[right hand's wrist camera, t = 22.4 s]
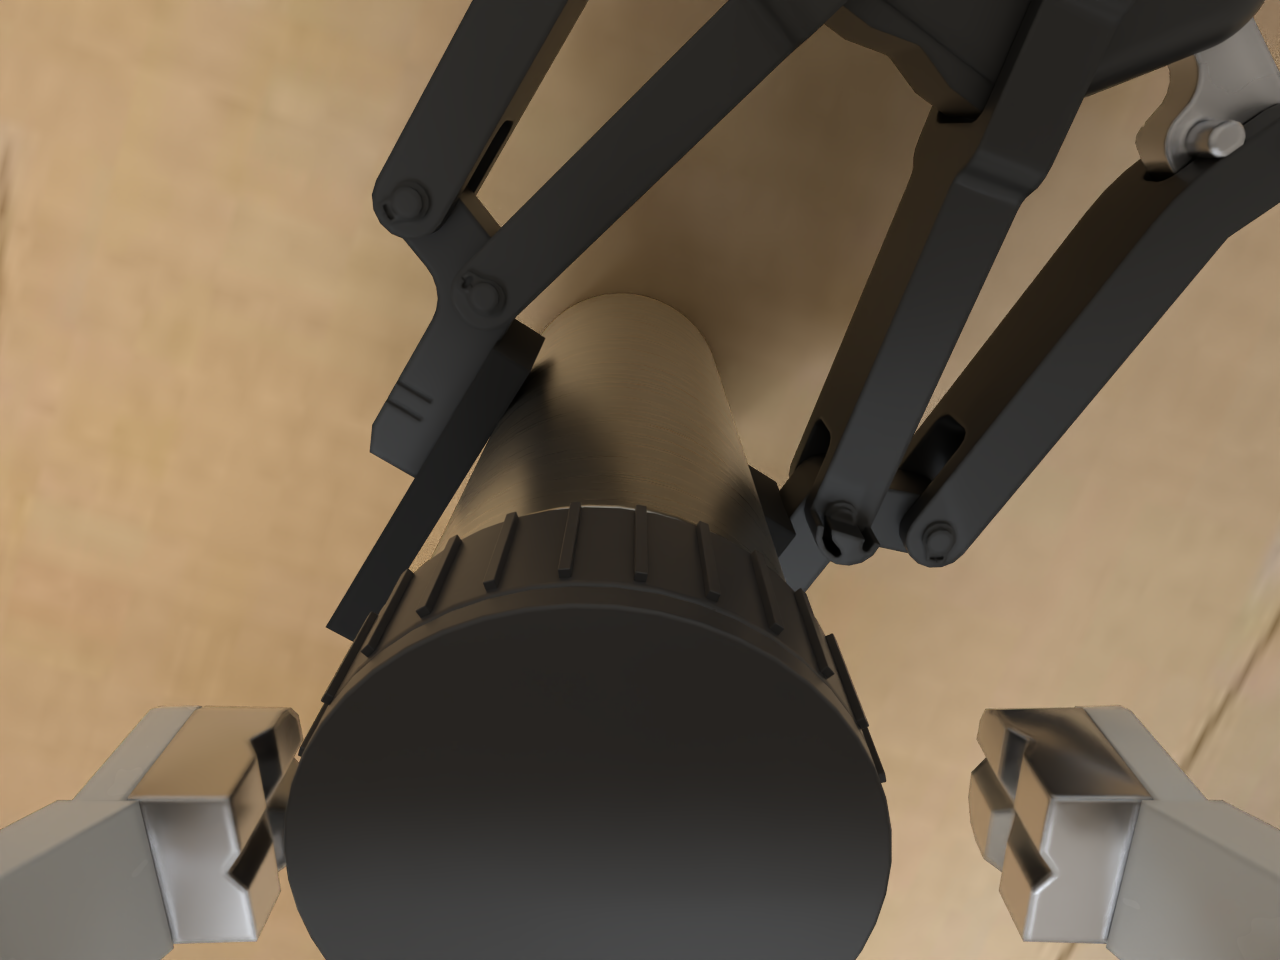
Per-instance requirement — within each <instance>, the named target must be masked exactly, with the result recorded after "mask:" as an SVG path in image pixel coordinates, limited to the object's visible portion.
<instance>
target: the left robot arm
mask: <svg viewBox="0 0 1280 960" xmlns="http://www.w3.org/2000/svg"><path fill="white" fill-rule="evenodd" d="M1264 1H1265V0H729V1H728V2H727V3H726V4H725V5H724V6H723V7H722V8H721V9H720V10H719V11H718V12H717V13H716V14H715V15H714V16H713V17H712V18H711V19H710V20H709V21H708V22H707V23H706V24H705V25H704V26H703V27H702V28H701V29H700V30H699V31H698V32H697V33H696V34H695V35H694V36H693V37H692V38H691V39H690V40H689V41H688V42H687V43H686V44H685V45H684V46H683V47H682V48H681V49H680V50H679V51H678V52H677V53H676V54H675V55H674V56H673V57H672V58H671V59H670V60H669V61H668V62H667V63H666V64H665V65H664V66H663V67H662V68H661V69H660V70H659V71H658V72H657V73H656V74H655V75H654V76H653V77H652V78H651V79H650V80H649V81H648V82H647V83H646V84H645V85H644V86H643V87H642V88H641V89H640V90H639V91H638V92H637V93H636V94H635V95H634V96H633V97H632V98H631V99H630V100H629V101H628V102H627V103H626V104H625V105H624V106H623V107H622V108H621V109H620V110H619V111H618V112H617V113H616V114H615V115H614V116H613V117H612V118H611V119H610V120H609V121H608V122H607V123H606V124H605V125H604V126H603V127H602V128H601V129H600V130H599V131H598V132H597V133H596V134H595V135H594V136H593V137H592V138H591V139H590V140H589V141H588V142H587V143H586V144H585V145H584V146H583V147H582V148H581V149H579V150H578V151H577V152H576V153H575V154H574V155H573V156H572V157H571V158H570V159H569V160H568V161H567V162H566V163H565V164H564V165H563V166H562V167H561V168H560V169H559V170H558V171H557V172H556V173H555V174H554V175H553V176H552V177H551V178H550V179H549V180H548V181H547V182H546V183H545V184H544V185H543V186H542V187H541V188H540V189H539V190H538V191H537V192H536V193H535V194H534V195H533V196H532V197H531V198H530V199H529V200H528V201H527V202H526V203H525V204H524V205H523V206H522V207H521V208H520V209H519V210H518V211H517V212H516V213H515V214H514V215H513V216H512V217H511V218H510V219H509V220H508V221H507V222H506V223H505V224H504V225H503V226H502V227H500V226H499V225H498V223H497V222H496V221H495V220H494V218H493V217H492V216H491V214H490V213H489V212H488V211H487V209H486V208H485V207H484V206H483V204H482V203H481V202H480V200H479V199H478V198H477V197H476V195H477V193H478V191H479V189H480V188H481V186H482V184H483V182H484V181H485V179H486V177H487V175H488V174H489V172H490V170H491V168H492V167H493V165H494V163H495V162H496V160H497V158H498V156H499V155H500V153H501V151H502V149H503V148H504V146H505V144H506V142H507V141H508V139H509V137H510V136H511V134H512V132H513V130H514V129H515V127H516V125H517V123H518V122H519V120H520V118H521V116H522V115H523V113H524V111H525V109H526V108H527V106H528V104H529V103H530V101H531V99H532V97H533V96H534V94H535V92H536V90H537V89H538V87H539V85H540V83H541V82H542V80H543V78H544V76H545V75H546V73H547V71H548V70H549V68H550V66H551V64H552V63H553V61H554V59H555V57H556V56H557V54H558V52H559V50H560V49H561V47H562V45H563V44H564V42H565V40H566V38H567V37H568V35H569V33H570V31H571V30H572V28H573V26H574V24H575V23H576V21H577V19H578V17H579V16H580V14H581V12H582V11H583V9H584V7H585V5H586V4H587V2H588V0H473V1H472V2H471V4H470V6H469V8H468V10H467V12H466V14H465V15H464V17H463V19H462V21H461V23H460V25H459V27H458V29H457V30H456V32H455V34H454V36H453V38H452V40H451V42H450V43H449V45H448V47H447V49H446V51H445V53H444V55H443V57H442V58H441V60H440V62H439V64H438V66H437V68H436V70H435V72H434V73H433V75H432V77H431V79H430V81H429V83H428V85H427V86H426V88H425V90H424V92H423V94H422V96H421V98H420V100H419V101H418V103H417V105H416V107H415V109H414V111H413V113H412V114H411V116H410V118H409V120H408V122H407V124H406V126H405V128H404V129H403V131H402V133H401V135H400V137H399V139H398V141H397V142H396V144H395V146H394V148H393V150H392V152H391V154H390V156H389V157H388V159H387V161H386V163H385V165H384V167H383V169H382V170H381V172H380V174H379V176H378V178H377V180H376V183H375V186H374V189H373V193H372V200H373V210H374V212H375V214H376V216H377V218H378V220H379V222H380V223H381V224H382V225H383V226H384V227H385V228H386V229H387V230H388V231H389V232H390V233H391V234H394V235H396V236H398V237H401V238H403V239H404V240H405V241H406V243H407V244H408V245H409V246H410V248H411V249H412V250H413V251H414V252H415V254H416V255H417V256H418V257H419V258H420V260H421V261H422V262H423V263H424V265H425V266H426V267H427V269H428V270H429V272H430V273H431V275H432V276H433V279H434V282H435V284H436V287H437V296H438V301H437V308H436V312H435V314H434V316H433V319H432V321H431V323H430V324H429V326H428V328H427V330H426V331H425V333H424V335H423V337H422V338H421V340H420V342H419V344H418V345H417V347H416V349H415V351H414V352H413V354H412V356H411V358H410V360H409V361H408V363H407V365H406V367H405V368H404V370H403V372H402V374H401V375H400V377H399V379H398V381H397V383H396V384H395V386H394V388H393V389H392V391H391V393H390V395H389V397H388V399H387V400H386V402H385V404H384V405H383V407H382V409H381V411H380V412H379V414H378V416H377V418H376V419H375V421H374V423H373V425H372V434H371V444H370V453H372V454H374V455H376V456H377V457H379V458H381V459H383V460H384V461H386V462H388V463H390V464H391V465H393V466H395V467H397V468H398V469H400V470H402V471H404V472H405V473H407V474H409V475H411V476H412V477H414V478H415V479H414V480H413V482H412V484H411V485H410V487H409V489H408V491H407V492H406V494H405V496H404V497H403V499H402V501H401V502H400V504H399V506H398V507H397V509H396V511H395V512H394V514H393V516H392V517H391V519H390V521H389V522H388V524H387V526H386V527H385V529H384V531H383V532H382V534H381V536H380V537H379V539H378V541H377V542H376V544H375V546H374V547H373V549H372V551H371V552H370V554H369V556H368V557H367V559H366V561H365V562H364V564H363V566H362V567H361V569H360V571H359V572H358V574H357V576H356V577H355V579H354V581H353V582H352V584H351V586H350V587H349V589H348V591H347V592H346V594H345V596H344V597H343V599H342V601H341V602H340V604H339V606H338V607H337V609H336V611H335V612H334V614H333V616H332V617H331V619H330V621H329V622H328V624H327V626H326V628H328V629H330V630H332V631H334V632H336V633H338V634H340V635H342V636H343V637H345V638H347V639H349V640H351V641H353V642H354V640H355V638H356V636H357V635H358V633H359V631H360V629H361V627H362V626H363V624H364V622H365V620H366V618H367V617H368V615H369V614H370V612H371V611H372V612H374V613H376V614H377V615H378V614H379V613H380V611H381V609H382V608H383V606H384V605H385V604H386V602H387V600H388V599H389V597H390V595H391V593H392V591H393V589H394V587H395V585H396V584H397V582H398V580H399V578H400V576H401V574H402V573H403V572H404V571H406V570H407V569H408V568H409V567H410V565H411V564H412V562H413V560H414V559H415V557H416V555H417V554H418V552H419V551H420V549H421V547H422V546H423V544H424V543H425V541H426V539H427V538H428V536H429V534H430V533H431V531H432V530H433V528H434V526H435V525H436V523H437V522H438V520H439V518H440V517H441V515H442V513H443V512H444V510H445V509H446V507H447V505H448V504H449V502H450V501H451V499H452V497H453V496H454V494H455V493H456V491H457V489H458V488H459V486H460V484H461V483H462V481H463V480H464V478H465V476H466V475H467V473H468V472H469V470H470V468H471V467H472V465H473V463H474V462H475V460H476V459H477V457H478V455H479V454H480V452H481V451H482V449H483V447H484V446H485V444H486V443H487V441H488V439H489V438H490V436H491V434H492V433H493V431H494V429H495V428H496V426H497V424H498V423H499V421H500V420H501V418H502V417H503V415H504V413H505V412H506V410H507V409H508V407H509V405H510V404H511V402H512V401H513V399H514V397H515V396H516V394H517V392H518V391H519V389H520V388H521V386H522V384H523V383H524V381H525V380H526V378H527V376H528V375H529V373H530V372H531V369H532V367H533V365H534V363H535V361H536V358H537V356H538V354H539V352H540V350H541V347H542V345H543V343H544V341H545V339H546V338H545V337H543V336H542V335H540V334H538V333H537V332H535V331H534V330H532V329H530V328H529V327H527V326H526V325H524V324H522V323H521V322H519V321H518V320H516V319H515V318H516V316H517V315H518V314H519V313H521V312H522V311H523V310H524V309H525V308H526V307H527V306H528V305H529V304H530V303H531V302H532V301H533V300H534V299H535V298H536V297H537V296H538V295H539V294H540V293H541V292H542V291H543V290H544V289H546V288H547V287H548V286H549V285H550V284H551V283H552V282H553V281H554V280H555V279H556V278H557V277H558V276H559V275H560V274H561V273H562V272H563V271H564V270H565V269H566V268H567V267H568V266H569V265H571V264H572V263H573V262H574V261H575V260H576V259H577V258H578V257H579V256H580V255H581V254H582V253H583V252H584V251H585V250H586V249H587V248H588V247H589V246H590V245H591V244H592V243H593V242H594V241H596V240H597V239H598V238H599V237H600V236H601V235H602V234H603V233H604V232H605V231H606V230H607V229H608V228H609V227H610V226H611V225H612V224H613V223H614V222H615V221H616V220H617V219H618V218H619V217H621V216H622V215H623V214H624V213H625V212H626V211H627V210H628V209H629V208H630V207H631V206H632V205H633V204H634V203H635V202H636V201H637V200H638V199H639V198H640V197H641V196H642V195H643V194H645V193H646V192H647V191H648V190H649V189H650V188H651V187H652V186H653V185H654V184H655V183H656V182H657V181H658V180H659V179H660V178H661V177H662V176H663V175H664V174H665V173H666V172H667V171H668V170H670V169H671V168H672V167H673V166H674V165H675V164H676V163H677V162H678V161H679V160H680V159H681V158H682V157H683V156H684V155H685V154H686V153H687V152H688V151H689V150H690V149H691V148H692V147H693V146H695V145H696V144H697V143H698V142H699V141H700V140H701V139H702V138H703V137H704V136H705V135H706V134H707V133H708V132H709V131H710V130H711V129H712V128H713V127H714V126H715V125H716V124H717V123H718V122H720V121H721V120H722V119H723V118H724V117H725V116H726V115H727V114H728V113H729V112H730V111H731V110H732V109H733V108H734V107H735V106H736V105H737V104H738V103H739V102H740V101H741V100H742V99H743V98H745V97H746V96H747V95H748V94H749V93H750V92H751V91H752V90H753V89H754V88H755V87H756V86H757V85H758V84H759V83H760V82H761V81H762V80H763V79H764V78H765V77H766V76H767V75H768V74H770V73H771V72H772V71H773V70H774V69H775V68H776V67H777V66H778V65H779V64H780V63H781V62H782V61H783V60H784V59H785V58H786V57H787V56H788V55H790V54H791V53H792V52H793V51H794V50H795V49H796V48H797V47H799V46H800V45H801V44H802V43H803V42H804V41H806V40H807V39H808V38H809V37H810V36H811V35H812V34H813V33H814V32H816V31H817V30H818V29H819V28H820V27H821V26H822V25H823V24H825V25H827V26H828V27H829V28H831V29H832V30H833V31H835V32H836V33H837V34H839V35H840V36H841V37H843V38H844V39H845V40H848V41H851V42H854V43H856V44H859V45H862V46H864V47H867V48H870V49H873V50H875V51H878V52H881V53H883V54H886V55H887V56H888V57H889V58H890V59H891V60H892V61H893V63H894V64H895V66H896V67H897V68H898V70H899V71H900V72H901V74H902V75H903V76H904V78H905V79H906V81H907V82H908V83H909V85H910V86H911V87H912V89H913V90H914V91H915V93H917V94H918V95H919V96H921V97H922V98H923V99H925V100H926V101H927V102H929V103H930V104H931V105H933V106H932V108H931V111H930V113H929V115H928V118H927V120H926V123H925V125H924V128H923V130H922V132H921V135H920V137H919V140H918V143H917V145H916V148H915V153H914V161H913V171H912V175H911V177H910V180H909V182H908V185H907V187H906V190H905V192H904V194H903V197H902V199H901V202H900V204H899V206H898V209H897V211H896V214H895V216H894V218H893V221H892V223H891V226H890V228H889V230H888V233H887V235H886V238H885V240H884V242H883V245H882V247H881V250H880V252H879V254H878V257H877V259H876V262H875V264H874V266H873V269H872V271H871V274H870V276H869V278H868V281H867V283H866V285H865V288H864V290H863V293H862V295H861V297H860V300H859V302H858V305H857V307H856V309H855V312H854V314H853V317H852V319H851V321H850V324H849V326H848V329H847V331H846V333H845V336H844V338H843V341H842V343H841V345H840V348H839V350H838V353H837V355H836V357H835V360H834V362H833V365H832V367H831V369H830V372H829V374H828V377H827V379H826V381H825V384H824V386H823V389H822V391H821V393H820V396H819V398H818V401H817V403H816V405H815V408H814V410H813V413H812V415H811V417H810V420H809V422H808V425H807V427H806V429H805V432H804V434H803V436H802V439H801V441H800V444H799V446H798V448H797V451H796V453H795V456H794V458H793V460H792V463H791V466H790V471H789V479H788V480H787V482H786V483H785V484H784V486H783V487H782V488H781V490H780V491H779V488H778V486H777V483H776V482H775V481H774V480H772V479H770V478H769V477H767V476H766V475H764V474H762V473H761V472H759V471H758V470H756V469H754V468H753V467H751V466H750V465H748V466H749V469H750V472H751V476H752V479H753V482H754V485H755V488H756V491H757V494H758V497H759V500H760V503H761V507H762V510H763V513H764V516H765V519H766V522H767V525H768V528H769V531H770V535H771V538H772V541H773V544H774V547H775V550H776V553H777V556H778V559H779V562H780V566H781V569H782V572H783V575H784V578H785V581H786V583H787V584H788V585H789V586H790V587H791V588H792V589H793V590H794V591H797V590H798V589H799V588H801V589H802V590H803V591H804V592H806V590H807V589H808V588H809V587H810V585H811V584H812V583H813V582H814V580H815V579H816V578H817V577H818V575H819V574H820V573H821V572H822V570H823V569H824V568H825V567H826V565H827V564H828V563H829V562H830V561H832V562H834V563H835V564H840V565H853V564H858V563H862V562H863V561H865V560H866V559H868V558H870V557H871V556H873V555H874V553H875V552H876V550H877V549H878V548H879V547H882V548H887V549H891V550H896V551H901V552H906V553H909V555H910V556H911V557H912V558H913V559H914V560H915V561H916V562H917V563H918V564H921V565H924V566H927V567H943V566H946V565H948V564H951V563H953V562H955V561H956V560H957V559H958V558H959V557H961V556H962V555H963V554H964V553H965V551H966V550H967V549H968V548H969V547H970V545H971V544H972V543H973V542H974V541H975V540H976V538H977V537H978V536H979V535H980V534H981V532H982V531H983V530H984V529H985V528H986V526H987V525H988V524H989V523H990V522H991V520H992V519H993V518H994V517H995V516H996V514H997V513H998V512H999V511H1000V510H1001V508H1002V507H1003V506H1004V505H1005V504H1006V502H1007V501H1008V500H1009V499H1010V498H1011V496H1012V495H1013V494H1014V493H1015V492H1016V490H1017V489H1018V488H1019V487H1020V486H1021V484H1022V483H1023V482H1024V481H1025V480H1026V478H1027V477H1028V476H1029V475H1030V474H1031V473H1032V471H1033V470H1034V469H1035V468H1036V467H1037V465H1038V464H1039V463H1040V462H1041V461H1042V459H1043V458H1044V457H1045V456H1046V455H1047V453H1048V452H1049V451H1050V450H1051V449H1052V447H1053V446H1054V445H1055V444H1056V443H1057V441H1058V440H1059V439H1060V438H1061V437H1062V435H1063V434H1064V433H1065V432H1066V431H1067V429H1068V428H1069V427H1070V426H1071V425H1072V423H1073V422H1074V421H1075V420H1076V419H1077V417H1078V416H1079V415H1080V414H1081V413H1082V412H1083V410H1084V409H1085V408H1086V407H1087V406H1088V404H1089V403H1090V402H1091V401H1092V400H1093V398H1094V397H1095V396H1096V395H1097V394H1098V392H1099V391H1100V390H1101V389H1102V388H1103V386H1104V385H1105V384H1106V383H1107V382H1108V380H1109V379H1110V378H1111V377H1112V376H1113V374H1114V373H1115V372H1116V371H1117V370H1118V368H1119V367H1120V366H1121V365H1122V364H1123V362H1124V361H1125V360H1126V359H1127V358H1128V356H1129V355H1130V354H1131V353H1132V352H1133V351H1134V349H1135V348H1136V347H1137V346H1138V345H1139V343H1140V342H1141V341H1142V340H1143V339H1144V337H1145V336H1146V335H1147V334H1148V333H1149V331H1150V330H1151V329H1152V328H1153V327H1154V325H1155V324H1156V323H1157V322H1158V321H1159V319H1160V318H1161V317H1162V316H1163V315H1164V313H1165V312H1166V311H1167V310H1168V309H1169V307H1170V306H1171V305H1172V304H1173V303H1174V301H1175V300H1176V299H1177V298H1178V297H1179V295H1180V294H1181V293H1182V292H1183V291H1184V290H1185V288H1186V287H1187V286H1188V285H1189V284H1190V282H1191V281H1192V280H1193V279H1194V278H1195V276H1196V275H1197V274H1198V273H1199V272H1200V270H1201V269H1202V268H1203V267H1204V266H1205V264H1206V263H1207V262H1208V261H1209V260H1210V258H1211V257H1212V256H1213V255H1214V254H1215V252H1216V251H1217V250H1218V249H1219V248H1220V246H1221V245H1222V244H1223V243H1224V242H1225V240H1226V239H1227V238H1228V237H1230V236H1231V235H1233V234H1234V233H1235V232H1237V231H1238V230H1240V229H1241V228H1243V227H1244V226H1246V225H1247V224H1249V223H1250V222H1252V221H1253V220H1255V219H1256V218H1258V217H1259V216H1261V215H1262V214H1264V213H1265V212H1266V211H1268V210H1269V209H1271V208H1272V207H1274V206H1275V205H1277V204H1278V203H1280V72H1279V70H1278V68H1277V66H1276V64H1275V62H1274V60H1273V58H1272V55H1271V53H1270V51H1269V49H1268V47H1267V45H1266V43H1265V41H1264V39H1263V37H1262V35H1261V33H1260V30H1259V28H1258V26H1257V24H1256V22H1255V20H1254V18H1253V16H1254V15H1255V14H1256V13H1257V11H1258V10H1259V9H1260V7H1261V6H1262V4H1263V3H1264ZM1166 65H1168V68H1169V71H1170V83H1169V87H1168V91H1167V94H1166V96H1165V98H1164V100H1163V102H1162V104H1161V105H1160V106H1159V107H1158V109H1157V110H1156V111H1155V112H1154V113H1153V114H1152V115H1151V117H1150V118H1149V119H1148V120H1147V121H1146V123H1145V125H1144V126H1143V127H1141V129H1140V130H1139V132H1138V134H1137V136H1136V142H1135V143H1136V147H1137V150H1138V151H1139V155H1140V157H1141V159H1140V160H1138V161H1137V162H1136V163H1135V164H1133V165H1132V166H1131V167H1130V168H1128V169H1127V170H1126V171H1125V172H1124V173H1122V174H1121V175H1120V176H1119V177H1118V178H1117V179H1116V180H1115V181H1114V182H1113V183H1112V184H1111V185H1110V186H1109V187H1108V188H1107V189H1106V190H1105V191H1104V192H1103V193H1102V194H1101V196H1100V197H1099V198H1098V199H1097V200H1096V201H1095V203H1094V204H1093V205H1092V206H1091V207H1090V208H1089V210H1088V211H1087V212H1086V213H1085V214H1084V216H1083V217H1082V218H1081V220H1080V221H1079V222H1078V224H1077V225H1076V226H1075V227H1074V229H1073V230H1072V231H1071V233H1070V234H1069V235H1068V236H1067V238H1066V239H1065V240H1064V242H1063V243H1062V244H1061V245H1060V247H1059V248H1058V249H1057V251H1056V252H1055V253H1054V255H1053V256H1052V257H1051V258H1050V260H1049V261H1048V262H1047V264H1046V265H1045V266H1044V267H1043V269H1042V270H1041V271H1040V273H1039V274H1038V275H1037V276H1036V278H1035V279H1034V280H1033V282H1032V283H1031V284H1030V286H1029V287H1028V288H1027V289H1026V291H1025V292H1024V293H1023V295H1022V296H1021V297H1020V298H1019V300H1018V301H1017V302H1016V304H1015V305H1014V306H1013V307H1012V309H1011V310H1010V311H1009V313H1008V314H1007V315H1006V317H1005V318H1004V319H1003V320H1002V322H1001V323H1000V324H999V326H998V327H997V328H996V329H995V331H994V332H993V333H992V335H991V336H990V337H989V338H988V340H987V341H986V342H985V344H984V345H983V346H982V348H981V349H980V350H979V351H978V353H977V354H976V355H975V357H974V358H973V359H972V360H971V362H970V363H969V364H968V366H967V367H966V368H965V369H964V371H963V372H962V373H961V375H960V376H959V377H958V379H957V380H956V381H955V382H954V384H953V385H952V386H951V388H950V389H949V390H948V391H947V393H946V394H945V395H944V397H943V398H942V399H941V400H940V402H939V403H938V404H937V406H936V407H935V408H934V410H933V411H932V412H931V413H930V415H929V416H928V417H927V419H926V420H925V421H924V422H923V424H922V425H921V426H920V428H919V429H918V430H917V431H916V429H917V427H918V424H919V422H920V420H921V418H922V416H923V414H924V412H925V409H926V407H927V405H928V403H929V401H930V399H931V396H932V394H933V392H934V390H935V388H936V386H937V383H938V381H939V379H940V377H941V375H942V373H943V370H944V368H945V366H946V364H947V362H948V360H949V358H950V355H951V353H952V351H953V349H954V347H955V345H956V342H957V340H958V338H959V336H960V334H961V332H962V329H963V327H964V325H965V323H966V321H967V319H968V316H969V314H970V312H971V310H972V308H973V306H974V304H975V301H976V299H977V297H978V295H979V293H980V291H981V288H982V286H983V284H984V282H985V280H986V278H987V275H988V273H989V271H990V269H991V267H992V265H993V262H994V260H995V258H996V256H997V254H998V252H999V250H1000V247H1001V245H1002V243H1003V241H1004V239H1005V237H1006V234H1007V232H1008V230H1009V228H1010V226H1011V224H1012V221H1013V219H1014V217H1015V215H1016V213H1017V211H1018V209H1019V207H1020V205H1021V204H1022V202H1023V201H1024V200H1025V198H1026V197H1027V196H1029V195H1030V194H1031V193H1032V192H1033V191H1034V190H1036V189H1037V188H1038V187H1039V185H1040V184H1041V183H1042V181H1043V180H1044V179H1045V177H1046V176H1047V174H1048V172H1049V170H1050V168H1051V167H1052V165H1053V162H1054V160H1055V158H1056V156H1057V154H1058V152H1059V150H1060V147H1061V145H1062V143H1063V141H1064V139H1065V137H1066V135H1067V132H1068V130H1069V128H1070V126H1071V124H1072V122H1073V120H1074V118H1075V115H1076V113H1077V111H1078V109H1079V107H1080V105H1081V103H1082V100H1083V98H1085V97H1087V96H1090V95H1093V94H1095V93H1098V92H1100V91H1103V90H1105V89H1108V88H1110V87H1113V86H1115V85H1118V84H1121V83H1123V82H1126V81H1128V80H1131V79H1133V78H1136V77H1138V76H1141V75H1143V74H1146V73H1149V72H1151V71H1154V70H1156V69H1159V68H1161V67H1164V66H1166ZM915 431H916V433H915ZM914 433H915V434H914Z"/></svg>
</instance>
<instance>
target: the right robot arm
mask: <svg viewBox="0 0 1280 960" xmlns="http://www.w3.org/2000/svg"><path fill="white" fill-rule="evenodd" d="M302 741H303V735H302V730H301V725H300V720H299V715H298V714H297V713H296V712H295V711H294V710H293V709H292V708H283V707H236V706H204V707H202V706H160V707H156V708H153V709H150V710H149V711H148V712H147V713H146V715H145V716H144V717H143V718H142V719H141V720H140V722H139V723H138V724H137V725H136V726H135V727H134V729H133V730H132V731H131V732H130V733H129V734H128V736H127V737H126V738H125V739H124V740H123V741H122V743H121V744H120V745H119V746H118V747H117V748H116V750H115V751H114V752H113V753H112V754H111V755H110V757H109V758H108V759H107V760H106V761H105V762H104V764H103V765H102V766H101V767H100V768H99V769H98V771H97V772H96V773H95V774H94V775H93V776H92V778H91V779H90V780H89V781H88V782H87V783H86V784H85V786H84V787H83V788H82V789H81V790H80V791H79V793H78V794H77V795H76V796H75V797H74V798H73V800H57V801H55V802H53V803H51V804H49V805H47V806H45V807H44V808H42V809H40V810H38V811H36V812H34V813H32V814H30V815H28V816H26V817H24V818H22V819H20V820H18V821H16V822H14V823H12V824H10V825H9V826H7V827H5V828H3V829H1V830H0V960H161V959H162V958H163V957H164V956H165V955H167V954H168V953H169V952H170V951H171V950H172V949H173V948H174V946H173V944H180V943H215V942H249V941H257V940H258V938H259V936H260V934H261V932H262V930H263V927H264V925H265V923H266V921H267V919H268V917H269V915H270V913H271V911H272V909H273V907H274V905H275V902H276V900H277V898H278V896H279V894H280V892H281V887H280V881H279V875H278V872H279V871H280V870H281V869H283V868H284V867H286V859H285V852H284V826H285V811H286V806H287V801H288V796H289V792H290V787H291V782H292V780H293V777H294V774H295V772H296V769H297V767H298V764H299V762H298V761H297V760H296V759H295V758H294V756H295V754H296V752H297V750H298V749H299V747H300V745H301V743H302ZM977 741H978V743H979V745H980V747H981V749H982V750H983V752H984V754H985V756H986V758H985V759H984V760H983V761H982V762H981V763H980V764H979V765H978V766H977V767H976V768H975V769H974V770H973V771H972V772H971V780H970V788H969V797H968V798H969V810H970V822H971V826H972V829H973V833H974V837H975V840H976V843H977V845H978V847H979V849H980V852H981V854H982V856H983V858H984V859H985V860H986V861H987V862H989V863H990V864H992V865H993V866H994V867H996V868H997V869H999V870H1000V871H1001V872H1002V875H1001V881H1000V887H999V892H1000V894H1001V896H1002V898H1003V900H1004V902H1005V905H1006V907H1007V909H1008V911H1009V913H1010V915H1011V917H1012V919H1013V921H1014V923H1015V925H1016V927H1017V929H1018V931H1019V934H1020V936H1021V938H1022V940H1023V941H1029V942H1064V943H1099V944H1107V945H1106V948H1107V949H1108V950H1109V951H1110V952H1112V953H1113V954H1114V955H1115V956H1116V957H1117V958H1119V959H1120V960H1280V830H1279V829H1277V828H1275V827H1273V826H1271V825H1269V824H1267V823H1266V822H1264V821H1262V820H1260V819H1258V818H1256V817H1254V816H1252V815H1250V814H1248V813H1246V812H1244V811H1242V810H1240V809H1238V808H1236V807H1234V806H1233V805H1231V804H1229V803H1227V802H1225V801H1223V800H1207V799H1206V797H1205V796H1204V795H1203V794H1202V793H1201V792H1200V790H1199V789H1198V788H1197V787H1196V786H1195V785H1194V783H1193V782H1192V781H1191V780H1190V779H1189V778H1188V776H1187V775H1186V774H1185V773H1184V772H1183V771H1182V769H1181V768H1180V767H1179V766H1178V765H1177V764H1176V762H1175V761H1174V760H1173V759H1172V758H1171V757H1170V755H1169V754H1168V753H1167V752H1166V751H1165V750H1164V748H1163V747H1162V746H1161V745H1160V744H1159V743H1158V741H1157V740H1156V739H1155V738H1154V737H1153V736H1152V735H1151V733H1150V732H1149V731H1148V730H1147V729H1146V728H1145V726H1144V725H1143V724H1142V723H1141V722H1140V721H1139V719H1138V718H1137V717H1136V716H1135V715H1134V714H1133V712H1132V711H1131V710H1129V709H1127V708H1125V707H1123V706H1121V705H1107V706H1076V707H1074V708H1008V709H985V711H984V713H983V715H982V717H981V719H980V723H979V729H978V735H977Z"/></svg>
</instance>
